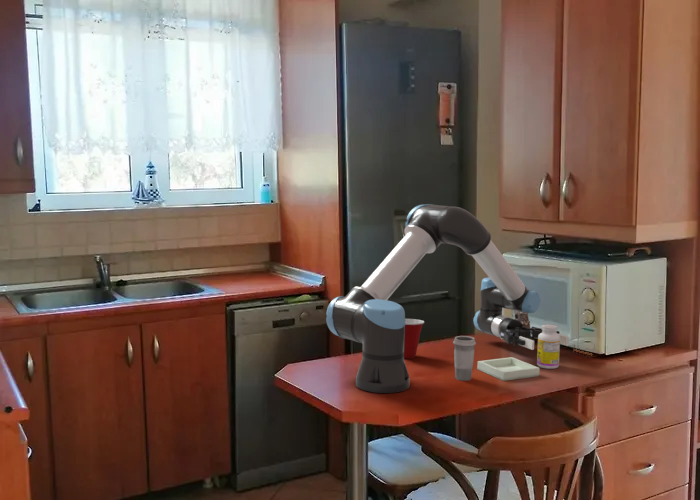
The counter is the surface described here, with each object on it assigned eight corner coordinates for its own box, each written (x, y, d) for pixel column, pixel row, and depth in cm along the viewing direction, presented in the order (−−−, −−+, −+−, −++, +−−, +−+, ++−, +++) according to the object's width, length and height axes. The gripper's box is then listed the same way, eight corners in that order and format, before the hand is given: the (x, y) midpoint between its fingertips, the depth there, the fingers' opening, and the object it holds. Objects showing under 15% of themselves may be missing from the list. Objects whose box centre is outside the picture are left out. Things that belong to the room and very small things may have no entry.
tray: (503, 380, 217) (503, 372, 217) (477, 369, 229) (477, 361, 229) (539, 376, 223) (539, 367, 222) (511, 364, 234) (512, 357, 234)
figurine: (516, 343, 261) (518, 310, 260) (506, 339, 268) (507, 306, 267) (534, 342, 264) (536, 309, 262) (523, 338, 270) (525, 305, 269)
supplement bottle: (537, 362, 238) (539, 322, 236) (559, 364, 236) (561, 324, 234) (535, 368, 232) (537, 327, 230) (557, 370, 229) (560, 329, 228)
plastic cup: (423, 352, 248) (424, 316, 246) (423, 361, 237) (424, 323, 235) (390, 351, 249) (391, 315, 247) (388, 359, 238) (389, 322, 236)
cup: (472, 383, 215) (474, 342, 213) (449, 380, 217) (451, 339, 215) (476, 376, 221) (478, 336, 220) (453, 374, 223) (455, 334, 222)
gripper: (536, 336, 257) (580, 351, 238) (476, 343, 247) (517, 359, 228) (537, 315, 256) (582, 328, 238) (477, 320, 246) (518, 334, 227)
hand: (550, 343), depth 233 cm, fingers open, 13 cm apart
